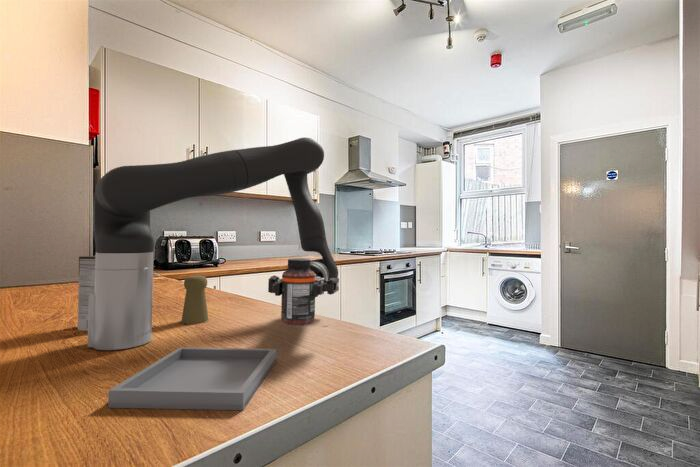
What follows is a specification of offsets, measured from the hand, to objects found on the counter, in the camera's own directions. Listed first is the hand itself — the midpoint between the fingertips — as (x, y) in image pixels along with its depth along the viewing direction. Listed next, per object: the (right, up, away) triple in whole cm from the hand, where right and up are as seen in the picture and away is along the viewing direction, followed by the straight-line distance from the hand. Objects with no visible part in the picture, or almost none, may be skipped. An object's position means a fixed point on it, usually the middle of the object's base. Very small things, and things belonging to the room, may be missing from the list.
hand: (296, 290), depth 58 cm
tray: (-11, -11, -10) cm, 19 cm away
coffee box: (-46, -11, +18) cm, 50 cm away
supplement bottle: (0, -6, +2) cm, 7 cm away
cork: (-28, -12, +24) cm, 39 cm away
